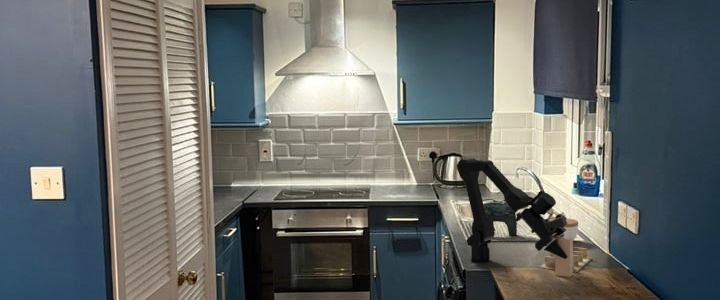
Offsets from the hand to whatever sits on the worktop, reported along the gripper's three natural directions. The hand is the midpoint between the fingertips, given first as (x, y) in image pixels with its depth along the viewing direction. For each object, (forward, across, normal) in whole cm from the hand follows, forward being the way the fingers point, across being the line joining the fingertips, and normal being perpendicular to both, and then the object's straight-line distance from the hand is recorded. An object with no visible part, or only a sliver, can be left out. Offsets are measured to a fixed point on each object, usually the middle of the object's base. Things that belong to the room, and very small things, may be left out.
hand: (568, 256), depth 220 cm
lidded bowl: (-6, +48, +16) cm, 51 cm away
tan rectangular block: (+4, 0, +6) cm, 7 cm away
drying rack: (+1, +15, +8) cm, 17 cm away
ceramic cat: (-26, +47, +36) cm, 65 cm away
